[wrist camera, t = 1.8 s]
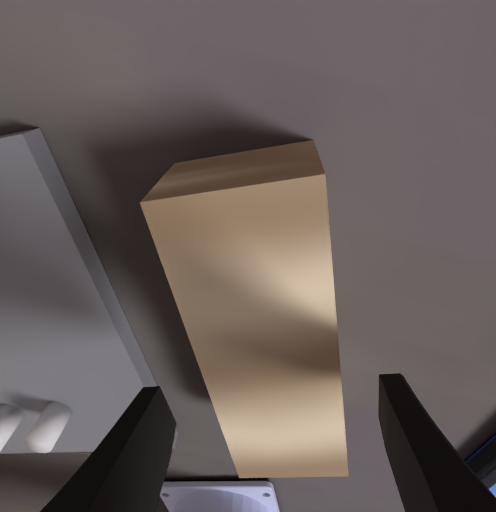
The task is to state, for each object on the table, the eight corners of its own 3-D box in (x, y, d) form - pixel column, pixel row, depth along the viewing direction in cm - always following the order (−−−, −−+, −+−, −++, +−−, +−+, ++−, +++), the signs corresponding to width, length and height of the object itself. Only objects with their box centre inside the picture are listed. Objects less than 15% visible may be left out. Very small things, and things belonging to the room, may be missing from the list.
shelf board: (336, 399, 19) (348, 476, 16) (246, 404, 20) (239, 478, 17) (312, 137, 12) (325, 174, 9) (176, 160, 13) (139, 202, 10)
